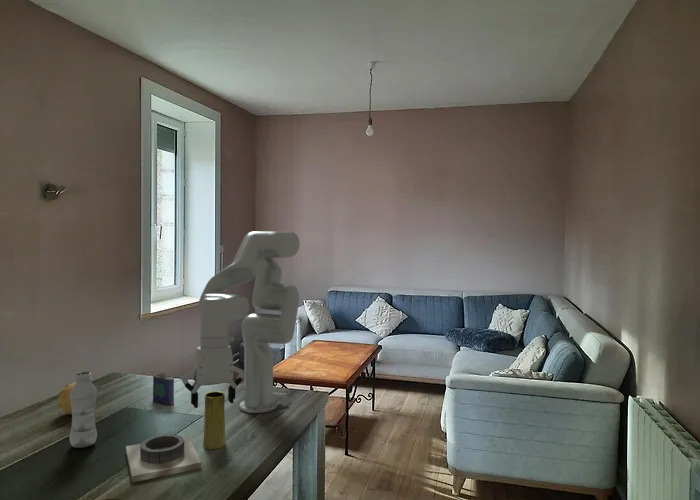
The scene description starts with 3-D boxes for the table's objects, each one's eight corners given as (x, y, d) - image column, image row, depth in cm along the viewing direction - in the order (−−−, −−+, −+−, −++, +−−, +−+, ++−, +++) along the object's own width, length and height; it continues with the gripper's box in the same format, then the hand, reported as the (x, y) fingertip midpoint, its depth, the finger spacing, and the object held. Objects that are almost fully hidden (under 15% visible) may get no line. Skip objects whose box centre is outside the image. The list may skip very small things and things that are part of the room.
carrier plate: (188, 440, 141) (188, 425, 141) (201, 468, 125) (201, 450, 125) (126, 451, 133) (126, 435, 133) (131, 482, 118) (131, 463, 117)
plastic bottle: (76, 440, 140) (75, 370, 139) (101, 440, 140) (100, 370, 139) (64, 451, 133) (64, 377, 132) (91, 450, 134) (90, 376, 133)
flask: (175, 403, 170) (175, 372, 169) (168, 406, 167) (168, 375, 167) (157, 399, 174) (156, 368, 174) (150, 401, 172) (149, 370, 171)
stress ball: (97, 413, 163) (89, 388, 168) (96, 397, 156) (88, 371, 162) (62, 425, 157) (55, 398, 162) (60, 408, 151) (53, 381, 156)
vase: (219, 450, 135) (219, 398, 134) (198, 448, 136) (199, 396, 136) (229, 441, 141) (229, 391, 140) (209, 439, 142) (209, 389, 142)
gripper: (241, 337, 145) (240, 396, 145) (179, 342, 136) (178, 404, 137) (249, 342, 138) (248, 404, 138) (184, 347, 130) (183, 413, 130)
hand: (213, 404), depth 137 cm, fingers open, 9 cm apart
